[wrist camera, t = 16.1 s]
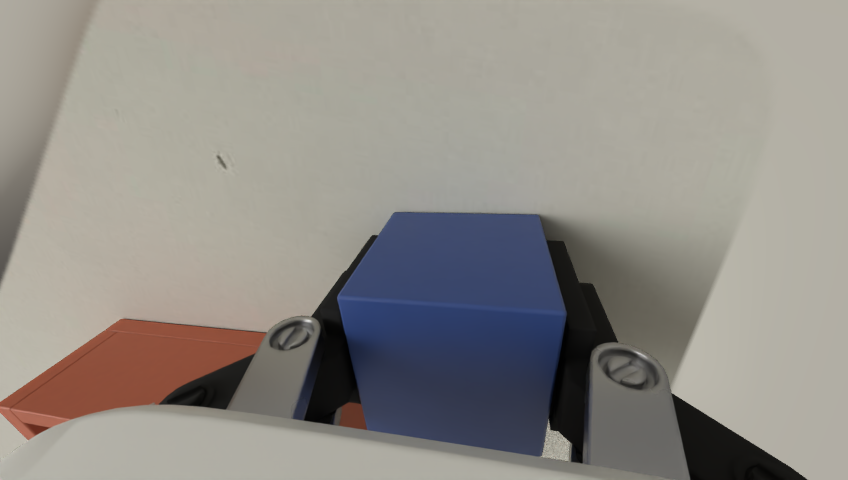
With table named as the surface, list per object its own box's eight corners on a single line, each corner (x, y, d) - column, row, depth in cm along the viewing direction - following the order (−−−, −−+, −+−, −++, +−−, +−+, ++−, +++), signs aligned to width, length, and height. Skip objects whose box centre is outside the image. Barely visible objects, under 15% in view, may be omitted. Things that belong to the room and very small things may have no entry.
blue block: (539, 213, 10) (568, 313, 6) (527, 329, 12) (542, 459, 8) (393, 211, 11) (334, 296, 7) (405, 319, 13) (366, 432, 9)
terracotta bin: (363, 342, 14) (306, 462, 10) (392, 491, 19) (364, 609, 15) (121, 318, 16) (-8, 406, 12) (207, 456, 22) (138, 549, 17)
